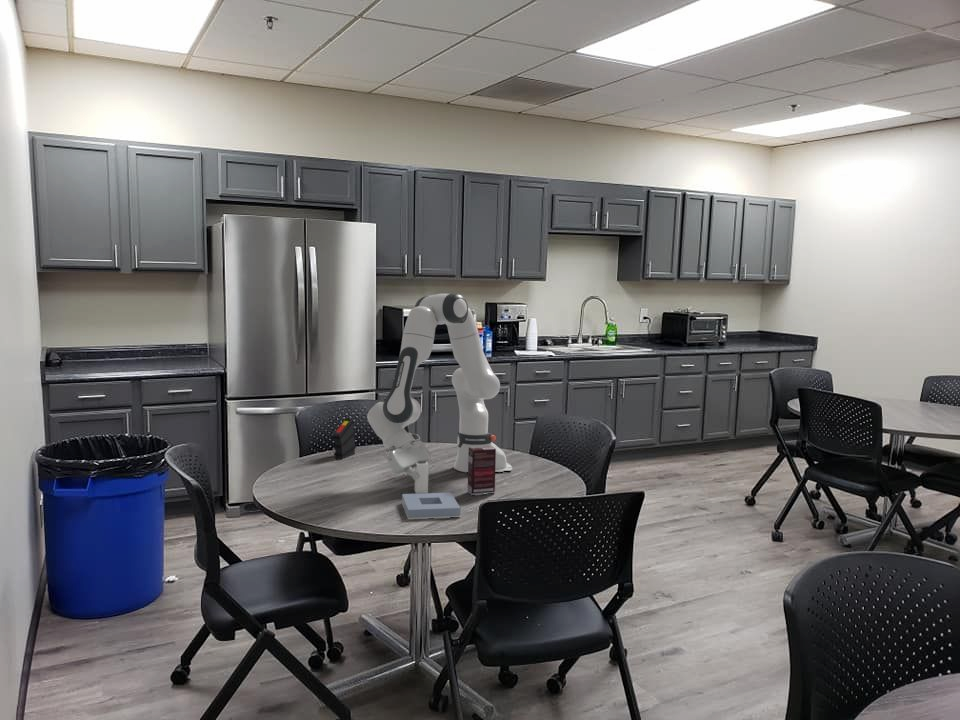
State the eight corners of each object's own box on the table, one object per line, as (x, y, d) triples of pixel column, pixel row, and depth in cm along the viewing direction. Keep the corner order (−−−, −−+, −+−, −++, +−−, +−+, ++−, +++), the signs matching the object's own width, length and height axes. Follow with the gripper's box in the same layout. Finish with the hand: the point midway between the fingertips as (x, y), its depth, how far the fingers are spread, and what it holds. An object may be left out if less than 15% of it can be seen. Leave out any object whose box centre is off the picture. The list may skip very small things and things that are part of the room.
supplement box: (489, 490, 249) (491, 445, 248) (495, 494, 245) (496, 448, 243) (466, 492, 246) (468, 446, 245) (471, 496, 242) (472, 450, 240)
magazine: (359, 448, 296) (352, 418, 289) (344, 468, 286) (337, 438, 278) (351, 447, 298) (344, 417, 290) (336, 467, 287) (328, 437, 279)
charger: (425, 489, 247) (426, 459, 246) (427, 493, 244) (428, 462, 242) (414, 489, 247) (415, 459, 245) (416, 493, 243) (416, 462, 241)
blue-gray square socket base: (450, 501, 235) (450, 492, 235) (460, 517, 220) (460, 507, 219) (401, 503, 232) (402, 494, 231) (408, 519, 216) (408, 509, 216)
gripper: (388, 444, 237) (412, 477, 234) (420, 433, 255) (443, 464, 252) (376, 455, 239) (400, 489, 236) (409, 444, 258) (432, 475, 254)
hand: (423, 476), depth 244 cm, fingers closed on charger, 6 cm apart
